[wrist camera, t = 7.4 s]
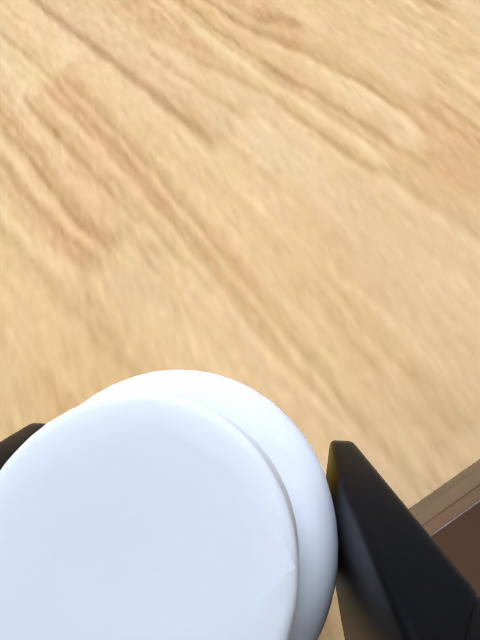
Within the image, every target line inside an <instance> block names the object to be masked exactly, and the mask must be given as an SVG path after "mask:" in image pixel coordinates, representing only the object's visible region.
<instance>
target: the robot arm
mask: <svg viewBox="0 0 480 640" xmlns="http://www.w3.org/2000/svg"><path fill="white" fill-rule="evenodd" d="M44 425H46V424H42V423H32V424H30V425H28V426H26V427H24V428H23V429H21V430H19V431H18V432H16V433H14V434H13V435H11V436H9V437H8V438H6V439H4V440H3V441H1V442H0V470H1V469H2V467H3V466H4V464H5V463H6V462H7V461H8V460H9V458H10V457H11V456H12V455H13V454H14V453H15V452H16V451H17V450H18V448H19V447H20V446H21V445H22V444H23V443H24V442H25V441H26V440H27V439H28V438H30V437H31V436H32V435H33V434H34V433H36V432H37V431H38V430H39V429H41V428H42V427H43V426H44ZM326 480H327V483H328V486H329V490H330V493H331V496H332V501H333V505H334V510H335V515H336V522H337V533H338V568H337V576H336V582H335V586H336V592H337V597H338V603H339V609H340V614H341V620H342V626H343V631H344V637H345V640H480V596H478V597H476V596H477V592H476V591H475V589H474V588H473V587H472V586H471V585H470V583H469V582H468V581H467V580H466V578H465V577H464V576H463V575H462V574H461V572H460V571H459V570H458V569H457V568H456V566H455V565H454V564H453V563H452V562H451V560H450V559H449V558H448V557H447V555H446V554H445V553H444V552H443V551H442V549H441V548H440V547H439V546H438V545H437V543H436V542H435V541H434V540H433V539H432V537H431V536H430V535H429V534H428V533H427V531H426V530H425V529H424V528H423V526H422V525H421V524H420V523H419V522H418V520H417V519H416V518H415V517H414V516H413V514H412V513H411V512H410V511H409V510H408V508H407V507H406V506H405V505H404V503H403V502H402V501H401V500H400V499H399V497H398V496H397V495H396V494H395V493H394V491H393V490H392V489H391V488H390V487H389V485H388V484H387V483H386V482H385V480H384V479H383V478H382V477H381V476H380V474H379V473H378V472H377V471H376V470H375V468H374V467H373V466H372V465H371V464H370V462H369V461H368V460H367V459H366V458H365V456H364V455H363V454H362V453H361V451H360V450H359V449H358V448H357V447H356V445H355V444H354V443H352V442H350V441H336V440H334V441H332V442H331V443H330V448H329V456H328V464H327V473H326Z"/></svg>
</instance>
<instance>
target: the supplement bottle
mask: <svg viewBox="0 0 480 640" xmlns="http://www.w3.org/2000/svg"><path fill="white" fill-rule="evenodd" d="M337 568H338V533H337V522H336V515H335V510H334V505H333V501H332V496H331V493H330V490H329V486H328V483H327V480H326V477H325V474H324V472H323V470H322V467H321V465H320V463H319V461H318V459H317V457H316V455H315V453H314V451H313V449H312V448H311V446H310V444H309V443H308V441H307V440H306V438H305V437H304V435H303V434H302V433H301V431H300V430H299V429H298V428H297V426H296V425H295V424H294V423H293V422H292V420H291V419H290V418H289V417H288V416H287V415H286V414H285V413H284V412H282V411H281V410H280V409H279V408H278V407H277V406H276V405H275V404H273V403H272V402H271V401H269V400H268V399H267V398H265V397H264V396H262V395H261V394H260V393H258V392H257V391H255V390H253V389H251V388H249V387H248V386H246V385H244V384H241V383H239V382H237V381H235V380H232V379H229V378H226V377H223V376H220V375H217V374H213V373H208V372H202V371H193V370H164V371H156V372H151V373H146V374H142V375H138V376H135V377H132V378H129V379H126V380H123V381H121V382H119V383H116V384H114V385H112V386H110V387H108V388H106V389H104V390H102V391H100V392H99V393H97V394H95V395H94V396H92V397H91V398H89V399H88V400H87V401H85V402H84V403H83V404H81V405H80V406H77V407H75V408H73V409H71V410H69V411H67V412H65V413H64V414H62V415H60V416H59V417H57V418H55V419H53V420H52V421H50V422H48V423H47V424H46V425H44V426H43V427H42V428H41V429H39V430H38V431H37V432H36V433H34V434H33V435H32V436H31V437H30V438H28V439H27V440H26V441H25V442H24V443H23V444H22V445H21V446H20V447H19V448H18V450H17V451H16V452H15V453H14V454H13V455H12V456H11V457H10V458H9V460H8V461H7V462H6V463H5V464H4V466H3V467H2V469H1V470H0V640H317V639H318V637H319V635H320V633H321V631H322V629H323V626H324V623H325V621H326V618H327V615H328V612H329V608H330V605H331V601H332V596H333V593H334V589H335V582H336V576H337Z"/></svg>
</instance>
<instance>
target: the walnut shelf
mask: <svg viewBox="0 0 480 640" xmlns="http://www.w3.org/2000/svg"><path fill="white" fill-rule="evenodd" d="M408 510H409V511H410V512H411V513H412V514H413V516H414V517H415V518H416V519H417V520H418V522H419V523H420V524H421V525H422V526H423V528H424V529H425V530H426V531H427V533H428V534H429V535H430V536H431V537H432V539H433V540H434V541H435V542H436V543H437V545H438V546H439V547H440V548H441V549H442V551H443V552H444V553H445V554H446V555H447V557H448V558H449V559H450V560H451V562H452V563H453V564H454V565H455V566H456V568H457V569H458V570H459V571H460V572H461V574H462V575H463V576H464V577H465V578H466V580H467V581H468V582H469V583H470V585H471V586H472V587H473V588H474V589H475V591H476V592H477V596H476V597H478V596H480V459H479V460H478V461H477V462H475V463H474V464H472V465H471V466H470V467H468V468H467V469H465V470H464V471H462V472H461V473H460V474H458V475H457V476H455V477H454V478H452V479H451V480H450V481H448V482H447V483H445V484H444V485H442V486H441V487H440V488H438V489H437V490H435V491H434V492H432V493H431V494H430V495H428V496H427V497H425V498H424V499H422V500H421V501H420V502H418V503H417V504H415V505H414V506H413V507H411V508H410V509H408Z"/></svg>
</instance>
